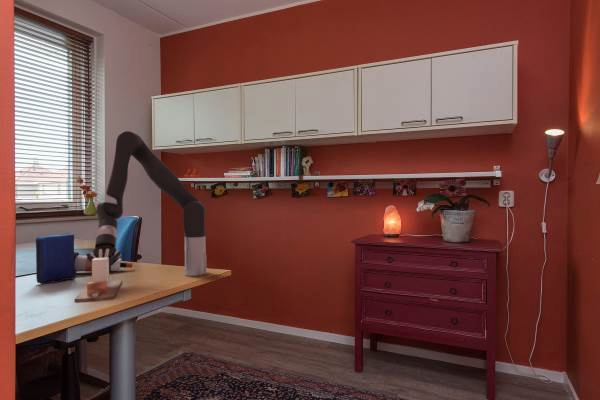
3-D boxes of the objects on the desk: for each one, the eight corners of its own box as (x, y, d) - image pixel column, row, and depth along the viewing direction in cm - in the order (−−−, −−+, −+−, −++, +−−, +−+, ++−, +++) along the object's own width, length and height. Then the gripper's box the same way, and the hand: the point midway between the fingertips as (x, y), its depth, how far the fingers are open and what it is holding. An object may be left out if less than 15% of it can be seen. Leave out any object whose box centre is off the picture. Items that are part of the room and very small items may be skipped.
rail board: (121, 282, 156) (121, 270, 156) (113, 298, 132) (113, 284, 132) (89, 285, 152) (88, 272, 152) (74, 302, 128) (74, 287, 128)
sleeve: (109, 285, 146) (108, 257, 146) (107, 288, 142) (106, 259, 141) (94, 286, 145) (94, 258, 144) (92, 289, 140) (91, 260, 140)
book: (71, 277, 167) (70, 232, 166) (77, 278, 164) (77, 232, 164) (34, 284, 154) (34, 235, 154) (41, 285, 151) (40, 236, 151)
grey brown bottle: (130, 280, 180) (131, 263, 176) (48, 278, 169) (46, 260, 165) (133, 267, 189) (134, 250, 185) (55, 264, 178) (54, 246, 174)
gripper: (87, 233, 152) (81, 269, 141) (123, 232, 157) (119, 267, 146) (89, 245, 158) (84, 280, 146) (124, 243, 162) (121, 277, 151)
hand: (102, 273), depth 146 cm, fingers closed
